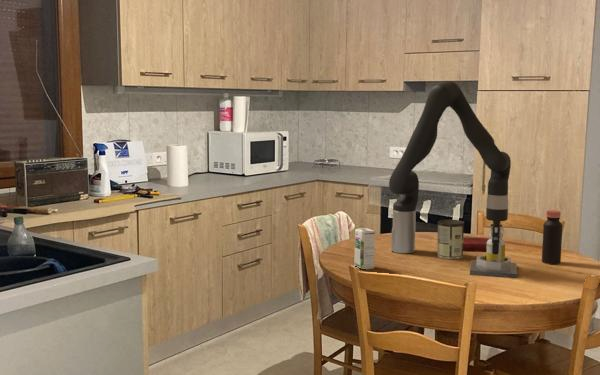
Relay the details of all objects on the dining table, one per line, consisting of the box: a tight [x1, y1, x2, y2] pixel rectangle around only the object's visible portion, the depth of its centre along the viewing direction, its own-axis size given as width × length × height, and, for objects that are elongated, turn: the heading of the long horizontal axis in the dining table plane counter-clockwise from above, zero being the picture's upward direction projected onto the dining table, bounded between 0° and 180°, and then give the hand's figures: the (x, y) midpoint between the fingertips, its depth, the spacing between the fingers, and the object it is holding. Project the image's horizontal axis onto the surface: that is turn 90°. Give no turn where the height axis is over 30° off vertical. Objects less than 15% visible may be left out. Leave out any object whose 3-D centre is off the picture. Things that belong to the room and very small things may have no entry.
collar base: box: [469, 254, 518, 279], centre depth 234 cm, size 16×16×4 cm
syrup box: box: [353, 227, 376, 270], centre depth 238 cm, size 6×6×14 cm
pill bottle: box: [485, 232, 506, 262], centre depth 234 cm, size 6×6×12 cm
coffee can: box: [436, 218, 465, 260], centre depth 256 cm, size 10×10×14 cm
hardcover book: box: [463, 236, 490, 253], centre depth 271 cm, size 12×21×4 cm, turn 81°
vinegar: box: [541, 209, 563, 265], centre depth 245 cm, size 7×7×20 cm
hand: (495, 251), depth 234 cm, fingers closed on pill bottle, 6 cm apart
